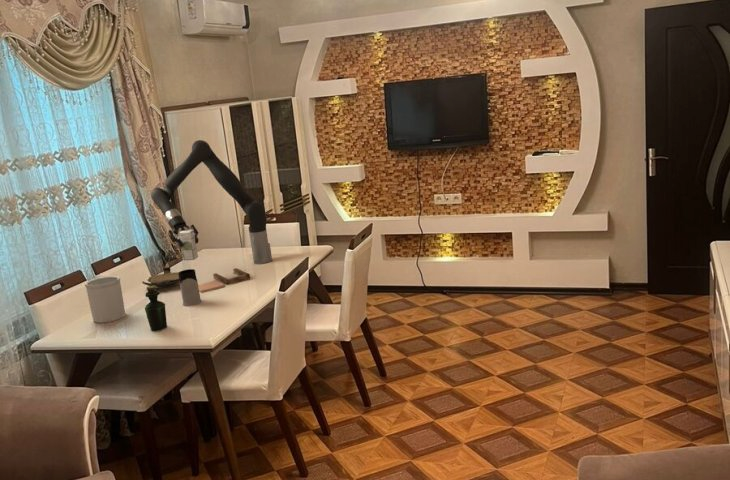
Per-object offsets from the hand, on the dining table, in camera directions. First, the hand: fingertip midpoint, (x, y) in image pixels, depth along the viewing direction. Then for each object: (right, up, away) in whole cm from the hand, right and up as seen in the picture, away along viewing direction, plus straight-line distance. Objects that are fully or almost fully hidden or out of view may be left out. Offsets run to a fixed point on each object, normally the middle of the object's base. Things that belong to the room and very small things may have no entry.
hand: (189, 244), depth 354 cm
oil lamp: (-13, -21, +11) cm, 27 cm away
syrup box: (0, -7, +3) cm, 8 cm away
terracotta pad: (+10, -21, -4) cm, 24 cm away
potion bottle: (+1, -35, -58) cm, 67 cm away
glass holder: (+7, -26, -24) cm, 36 cm away
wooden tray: (+19, -17, +7) cm, 27 cm away
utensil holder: (-27, -33, -34) cm, 55 cm away
